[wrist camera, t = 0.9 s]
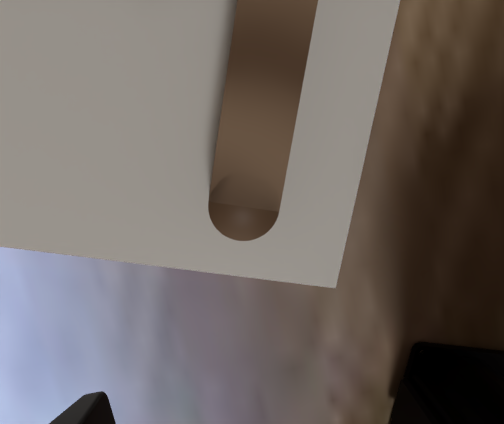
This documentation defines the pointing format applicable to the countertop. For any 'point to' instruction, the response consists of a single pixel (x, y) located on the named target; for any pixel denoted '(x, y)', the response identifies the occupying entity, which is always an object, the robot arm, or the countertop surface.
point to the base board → (174, 133)
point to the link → (259, 114)
